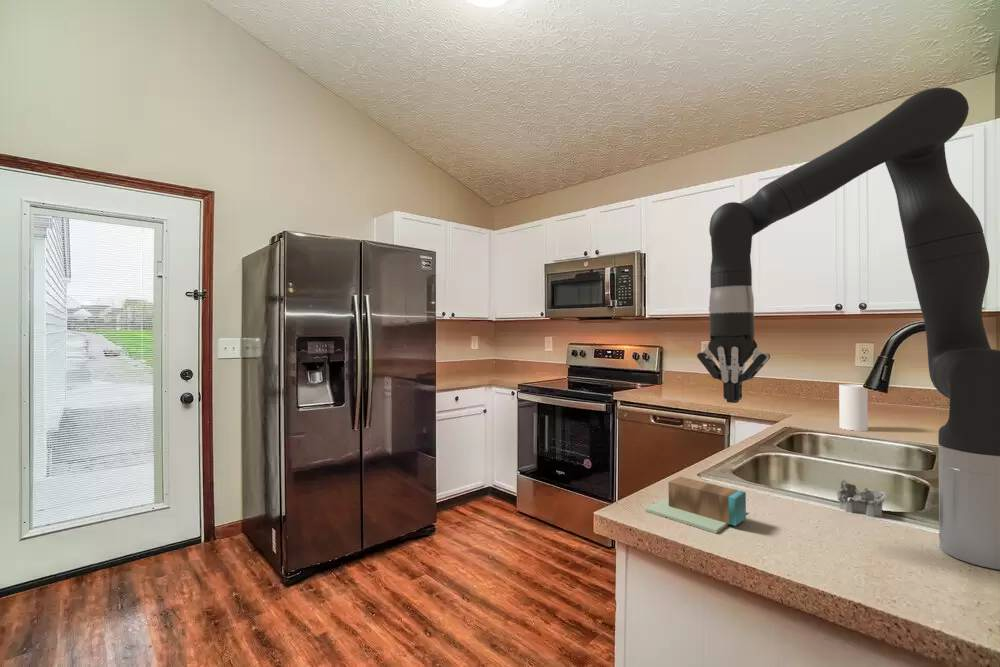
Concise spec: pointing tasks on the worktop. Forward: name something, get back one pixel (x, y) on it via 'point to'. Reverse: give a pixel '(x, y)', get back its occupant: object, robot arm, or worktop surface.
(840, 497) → the grey miniature model
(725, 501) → the walnut block
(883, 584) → the worktop surface
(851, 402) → the cup
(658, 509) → the sage mat
